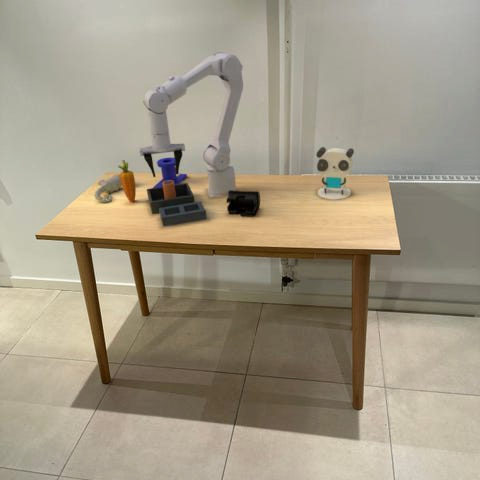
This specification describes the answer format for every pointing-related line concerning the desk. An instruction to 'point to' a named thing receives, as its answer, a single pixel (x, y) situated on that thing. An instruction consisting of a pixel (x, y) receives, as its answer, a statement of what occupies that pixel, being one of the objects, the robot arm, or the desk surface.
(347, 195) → the panda figurine
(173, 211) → the rack
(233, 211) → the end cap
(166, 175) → the mount
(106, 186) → the seahorse
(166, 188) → the tube
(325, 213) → the desk surface
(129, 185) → the carrot
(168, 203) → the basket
